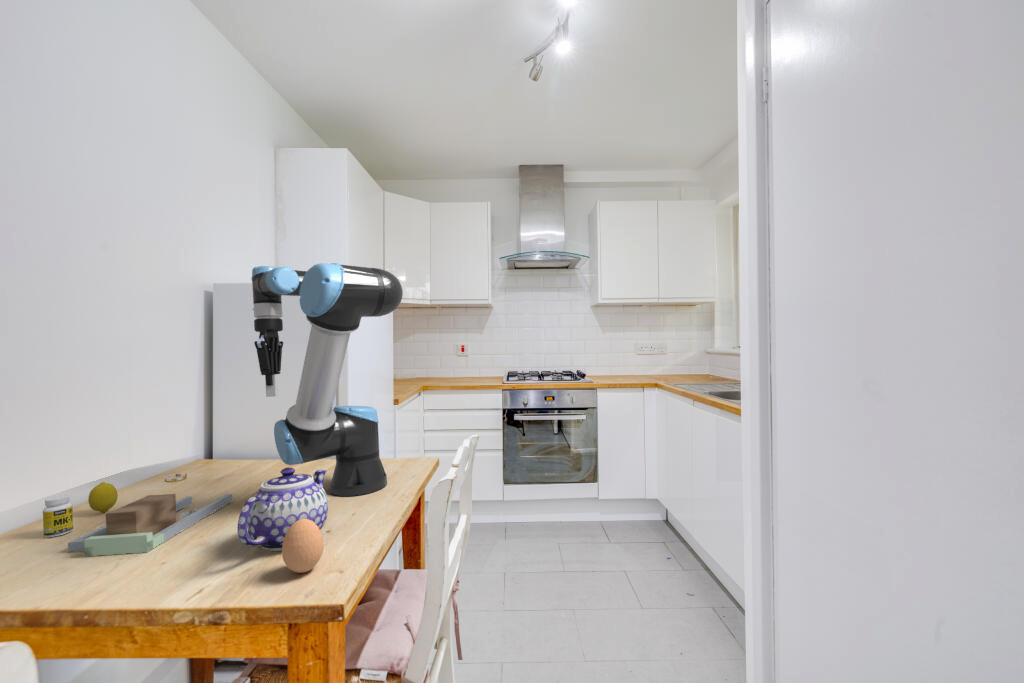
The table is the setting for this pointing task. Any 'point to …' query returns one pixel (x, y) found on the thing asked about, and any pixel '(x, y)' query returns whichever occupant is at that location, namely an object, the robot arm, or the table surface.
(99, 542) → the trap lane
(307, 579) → the table surface
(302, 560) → the egg
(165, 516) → the walnut block
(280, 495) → the teapot
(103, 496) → the lemon
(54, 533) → the supplement bottle
